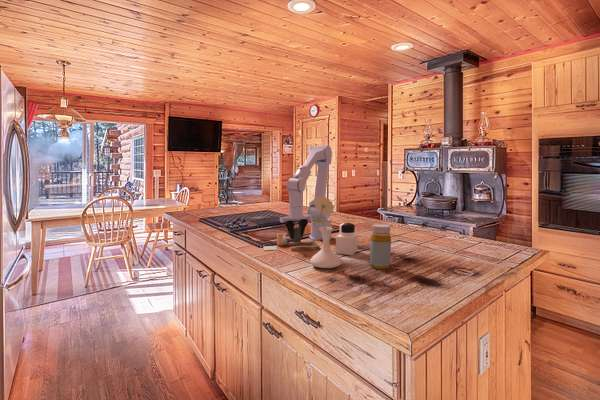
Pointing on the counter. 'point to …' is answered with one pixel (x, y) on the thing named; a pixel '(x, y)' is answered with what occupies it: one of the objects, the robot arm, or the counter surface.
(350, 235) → the medicine bottle
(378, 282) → the counter surface
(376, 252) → the bottle
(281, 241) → the latch bar
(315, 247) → the frame
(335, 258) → the flower in vase
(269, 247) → the off-white flat square block
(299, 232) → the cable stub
